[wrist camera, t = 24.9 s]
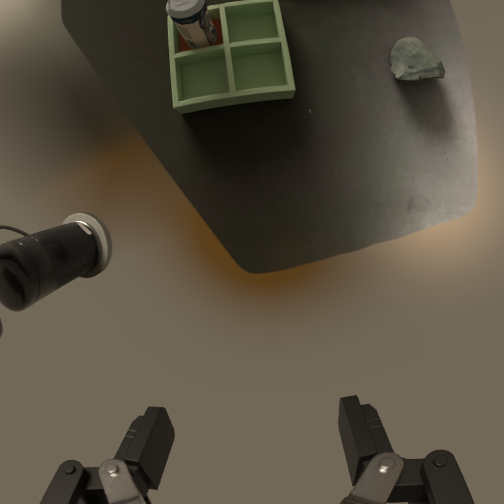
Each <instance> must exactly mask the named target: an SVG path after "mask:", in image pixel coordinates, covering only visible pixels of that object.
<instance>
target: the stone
mask: <svg viewBox="0 0 504 504" xmlns="http://www.w3.org/2000/svg"><path fill="white" fill-rule="evenodd" d="M390 66H392V68H391V72H392V73H394V74H396V76H395V77H396V78H397V79H399V80H417V81H418V80H419V79H426V78H427V79H428V78H444V74H445V70H444V67H443V64H442V62H441V61H440V60H439V59H438V58H436V57H435V56H434V55H433V54H432V53H431V52H430V51H429V50H428V49H427V48H426V47H425V46H424V44H423V43H422V42H421V41H420V40H419V39H417V38H414V37H408V38H404V39H401V40H399V41H397V42H396V43H395V44H394V46H393V48H392V50H391V53H390Z"/></svg>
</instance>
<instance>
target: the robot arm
mask: <svg viewBox="0 0 504 504" xmlns="http://www.w3.org/2000/svg"><path fill="white" fill-rule="evenodd" d="M0 229H8V230H12V231H14V232H17V233H20V234H22V235H24V237H21V238H18V239H15V240H12V241H9V242H6V243H3V244H1V245H0V303H1V304H2V305H4V306H5V307H6V308H8V309H10V310H12V311H22V310H24V309H26V308H28V307H29V306H31V305H33V304H34V303H36V302H37V301H39V300H40V299H42V298H44V297H45V296H47V295H48V294H50V293H52V292H53V291H55V290H57V289H58V288H60V287H62V286H63V285H65V284H67V283H69V282H70V281H72V280H74V279H75V278H77V277H79V276H81V275H83V274H84V273H86V272H89V271H91V270H92V269H94V268H95V267H96V266H97V265H98V263H99V261H100V258H101V242H100V239H99V236H98V234H97V232H96V231H95V229H94V228H93V227H92V226H91V225H90V224H88V223H86V222H84V221H74V222H71V223H69V224H65V225H61V226H58V227H54V228H51V229H47V230H44V231H40V232H37V233H34V234H31V235H29V234H28V233H26V232H24V231H22V230H20V229H17V228H14V227H11V226H5V225H0ZM2 333H3V327H2V323H1V319H0V337H1V336H2ZM338 425H339V432H340V436H341V440H342V444H343V448H344V452H345V456H346V460H347V465H348V469H349V473H350V477H351V481H352V486H354V488H353V490H352V491H351V493H350V494H349V496H347V497H345V498H344V499H343V500H342V501H341V503H340V504H386V503H396V502H397V503H398V502H408V504H474V501H473V499H472V497H471V494H470V492H469V489H468V487H467V484H466V482H465V480H464V477H463V475H462V473H461V470H460V468H459V466H458V464H457V462H456V459H455V457H454V456H453V454H452V453H450V452H449V451H446V450H435V451H433V452H431V453H429V454H428V455H427V456H426V457H425V458H424V459H405V458H402V457H400V456H399V455H398V454H396V453H395V452H394V451H393V449H392V447H391V444H390V442H389V439H388V437H387V435H386V432H385V429H384V427H383V426H382V422H381V420H380V417H379V416H378V413H377V410H376V409H375V408H373V407H372V406H371V405H370V404H365V405H360V402H359V399H358V397H357V395H354V396H349V397H343V398H340V405H339V419H338ZM174 436H175V433H174V428H173V426H172V424H171V421H170V419H169V416H168V414H167V411H166V409H165V408H164V407H148V408H147V410H146V412H145V414H144V416H139V417H137V418H136V419H135V420H134V421H133V422H132V424H131V426H130V428H129V431H128V432H127V434H126V437H124V439H123V441H122V443H121V445H120V447H119V449H118V451H117V453H116V455H115V457H114V459H110V460H107V461H105V462H103V464H102V465H101V466H100V467H86V468H84V467H83V466H82V464H81V463H80V462H78V461H76V460H68V461H65V462H64V463H62V464H61V465H60V466H59V468H58V470H57V472H56V474H55V476H54V477H53V479H52V481H51V483H50V485H49V487H48V489H47V491H46V493H45V495H44V496H43V498H42V500H41V502H40V504H152V502H151V500H150V498H149V496H148V494H147V493H148V490H149V489H155V490H158V487H159V483H160V481H161V478H162V474H163V471H164V468H165V465H166V462H167V459H168V456H169V453H170V450H171V447H172V444H173V441H174Z"/></svg>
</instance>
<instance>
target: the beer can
mask: <svg viewBox="0 0 504 504" xmlns="http://www.w3.org/2000/svg"><path fill="white" fill-rule="evenodd" d="M166 10H167V13H168V14H169V16H170V17H171V19H172V20H173V22H174V23H175V25H176V27H177V28H178V30H179V31H180V33H181V35H182V36H183V38H184V39H185V41H186V43H187V44H188V46H189V47H190V48H192V49H199V48H204V47H209V46H212V45H213V44H214V43H215V42H216V40H217V32H216V30H215V28H214V25H213V22H212V19H211V17H210V14H209V11H208V9H207V6H206V3H205V0H168V2H167V6H166Z"/></svg>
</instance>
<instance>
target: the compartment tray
mask: <svg viewBox="0 0 504 504" xmlns="http://www.w3.org/2000/svg"><path fill="white" fill-rule="evenodd" d="M207 9H208V11H209V14H210V17H211V19H212V22H213V25H214V28H215V30H216V32H217V40H216V42H215V43H214V44H213V45H212V46H209V47H204V48H199V49H192V48H190V47H189V46H188V44H187V43H186V41H185V39H184V38H183V36H182V35H181V33H180V31H179V30H178V28H177V27H176V25H175V23H174V22H173V20H172V19H171V17H170V16H169V15H168V40H169V58H170V72H171V86H172V97H173V108H174V109H176V110H177V111H178V112H180V113H181V114H184V113H189V112H194V111H199V110H205V109H210V108H216V107H222V106H228V105H235V104H242V103H250V102H258V101H267V100H277V99H289V98H293V96H294V93H295V90H296V89H295V84H294V78H293V72H292V66H291V61H290V56H289V50H288V45H287V40H286V35H285V30H284V26H283V21H282V16H281V12H280V7H279V3H278V0H247V1H238V2H231V3H225V4H218V5H212V6H207Z"/></svg>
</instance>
